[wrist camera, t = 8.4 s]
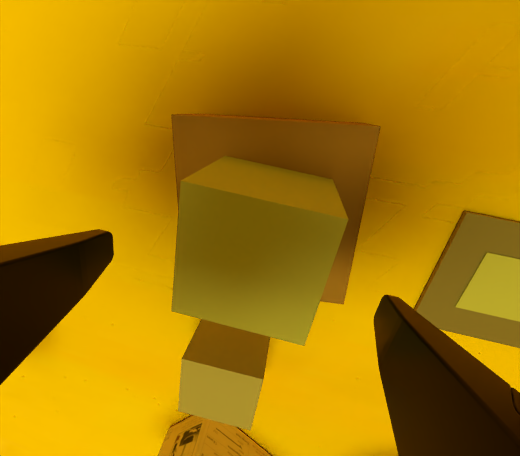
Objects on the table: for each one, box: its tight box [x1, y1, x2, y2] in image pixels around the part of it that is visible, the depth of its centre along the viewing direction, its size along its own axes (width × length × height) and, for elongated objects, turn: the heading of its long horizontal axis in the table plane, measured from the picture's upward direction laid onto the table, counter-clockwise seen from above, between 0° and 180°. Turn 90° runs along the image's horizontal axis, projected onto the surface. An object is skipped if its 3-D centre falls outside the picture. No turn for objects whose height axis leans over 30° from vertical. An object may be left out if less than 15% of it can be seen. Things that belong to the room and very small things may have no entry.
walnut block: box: [172, 114, 380, 304], centre depth 15 cm, size 9×9×4 cm
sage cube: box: [172, 156, 348, 346], centre depth 11 cm, size 5×5×5 cm
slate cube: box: [178, 319, 270, 430], centre depth 20 cm, size 5×5×5 cm
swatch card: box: [414, 211, 520, 348], centre depth 17 cm, size 8×8×1 cm
